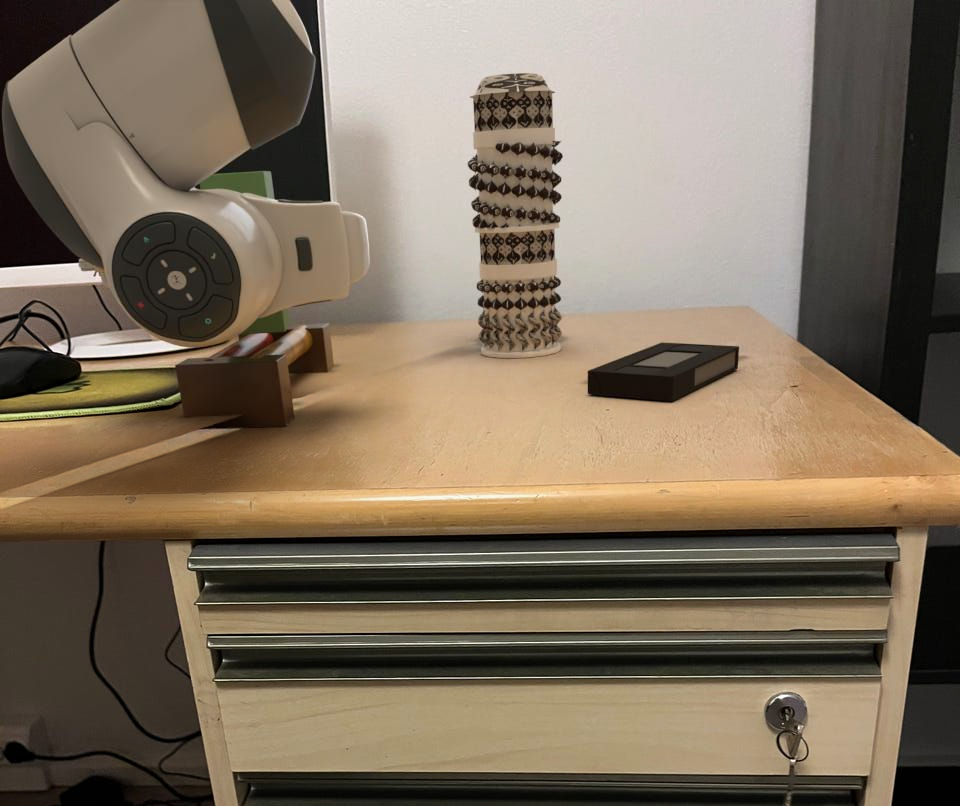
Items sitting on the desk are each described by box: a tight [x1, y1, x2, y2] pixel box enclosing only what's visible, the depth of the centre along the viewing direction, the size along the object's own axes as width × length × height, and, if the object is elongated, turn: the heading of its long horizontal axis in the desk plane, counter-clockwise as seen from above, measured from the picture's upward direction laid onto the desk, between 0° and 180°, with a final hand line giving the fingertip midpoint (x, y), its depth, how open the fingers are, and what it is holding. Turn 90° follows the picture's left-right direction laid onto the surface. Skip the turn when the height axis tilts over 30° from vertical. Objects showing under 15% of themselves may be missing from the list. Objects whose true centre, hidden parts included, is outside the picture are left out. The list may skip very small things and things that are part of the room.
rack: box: [174, 322, 335, 430], centre depth 85 cm, size 8×20×5 cm, turn 177°
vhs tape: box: [587, 341, 740, 402], centre depth 84 cm, size 8×14×2 cm, turn 146°
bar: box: [199, 170, 292, 335], centre depth 81 cm, size 5×5×12 cm
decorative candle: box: [467, 72, 564, 359], centre depth 97 cm, size 9×9×25 cm
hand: (248, 245), depth 81 cm, fingers closed on bar, 5 cm apart
